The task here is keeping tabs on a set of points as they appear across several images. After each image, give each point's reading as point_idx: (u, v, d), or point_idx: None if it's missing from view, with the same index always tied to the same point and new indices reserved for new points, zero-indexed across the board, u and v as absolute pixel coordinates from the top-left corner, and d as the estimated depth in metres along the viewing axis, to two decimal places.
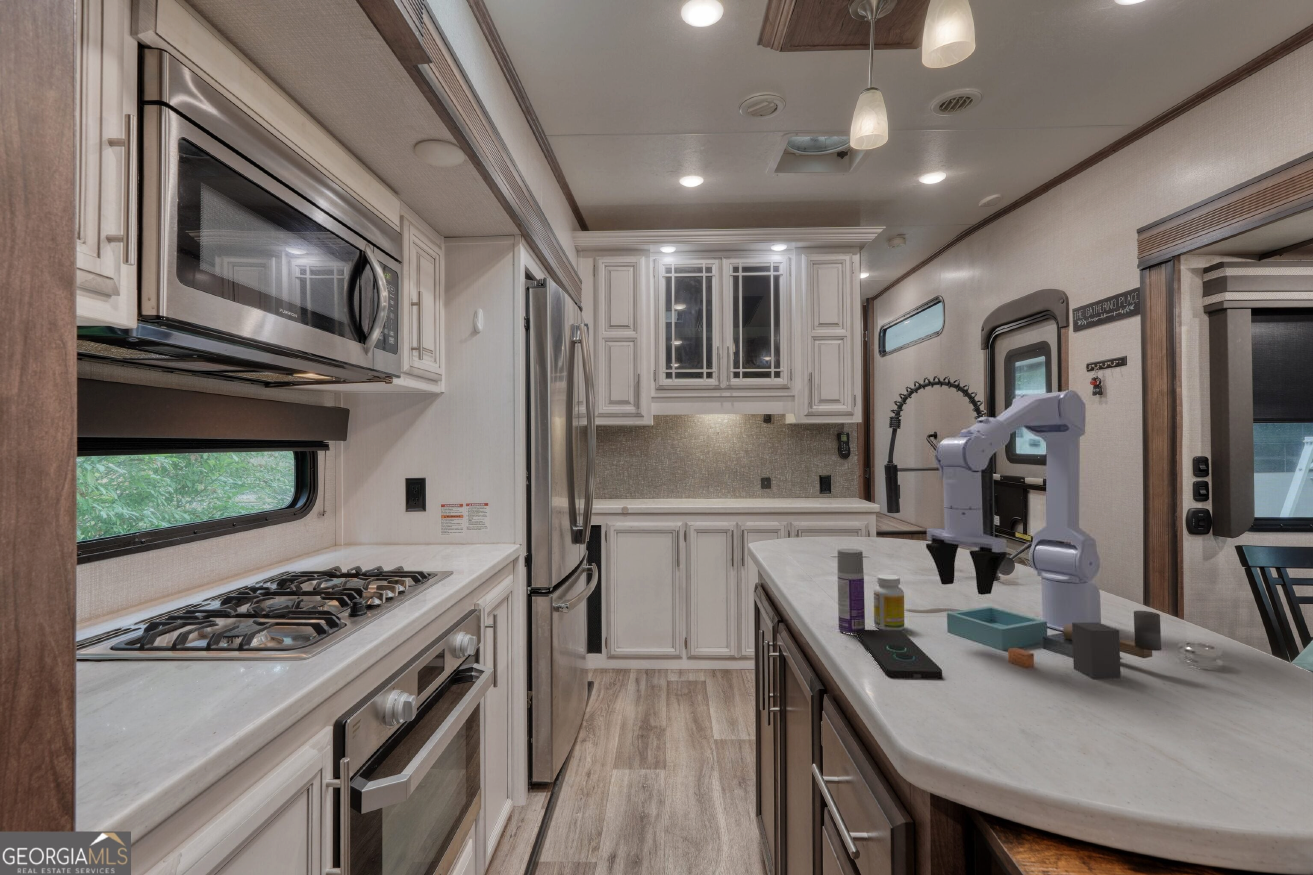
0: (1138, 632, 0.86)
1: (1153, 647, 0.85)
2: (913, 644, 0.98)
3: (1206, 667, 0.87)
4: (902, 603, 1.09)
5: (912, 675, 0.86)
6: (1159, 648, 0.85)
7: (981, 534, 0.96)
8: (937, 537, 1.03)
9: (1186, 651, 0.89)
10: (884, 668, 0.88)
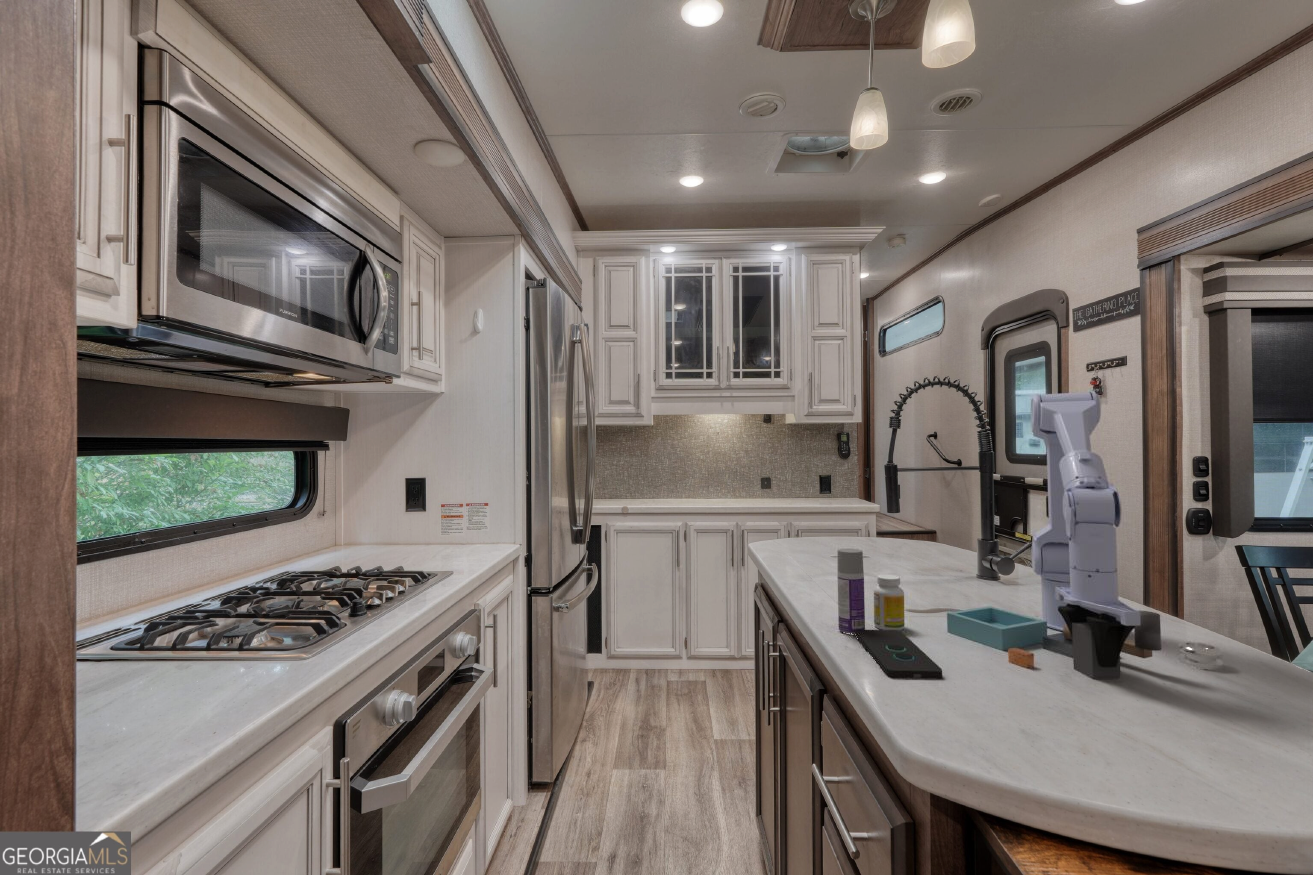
0: (1138, 632, 0.86)
1: (1153, 647, 0.85)
2: (912, 643, 0.98)
3: (1206, 667, 0.87)
4: (902, 603, 1.09)
5: (912, 675, 0.86)
6: (1159, 648, 0.85)
7: (1114, 601, 0.84)
8: None
9: (1186, 651, 0.89)
10: (884, 668, 0.88)
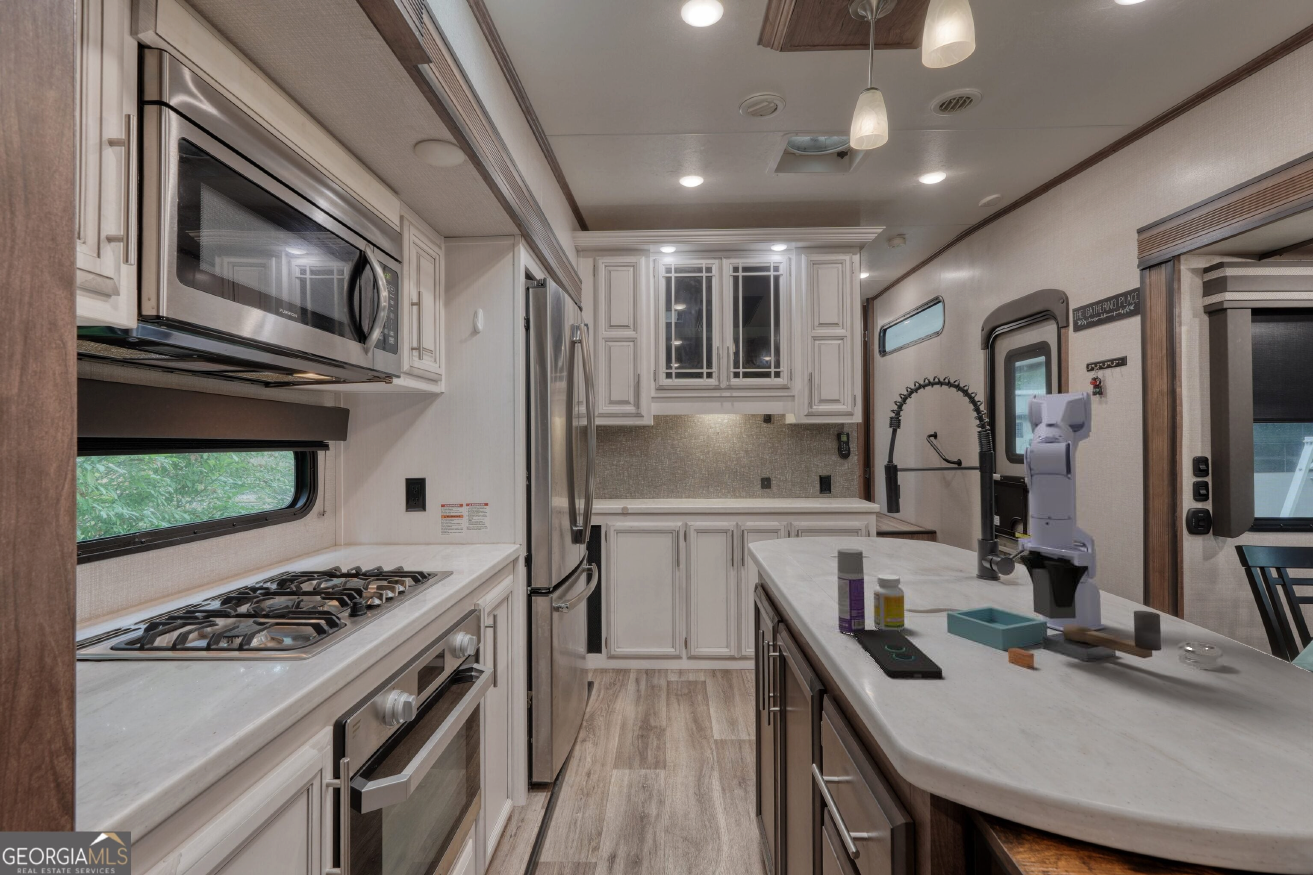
0: (1138, 632, 0.86)
1: (1153, 647, 0.85)
2: (911, 643, 0.98)
3: (1206, 667, 0.87)
4: (902, 603, 1.09)
5: (913, 675, 0.86)
6: (1159, 648, 0.85)
7: (1069, 546, 0.91)
8: None
9: (1186, 651, 0.89)
10: (884, 668, 0.88)
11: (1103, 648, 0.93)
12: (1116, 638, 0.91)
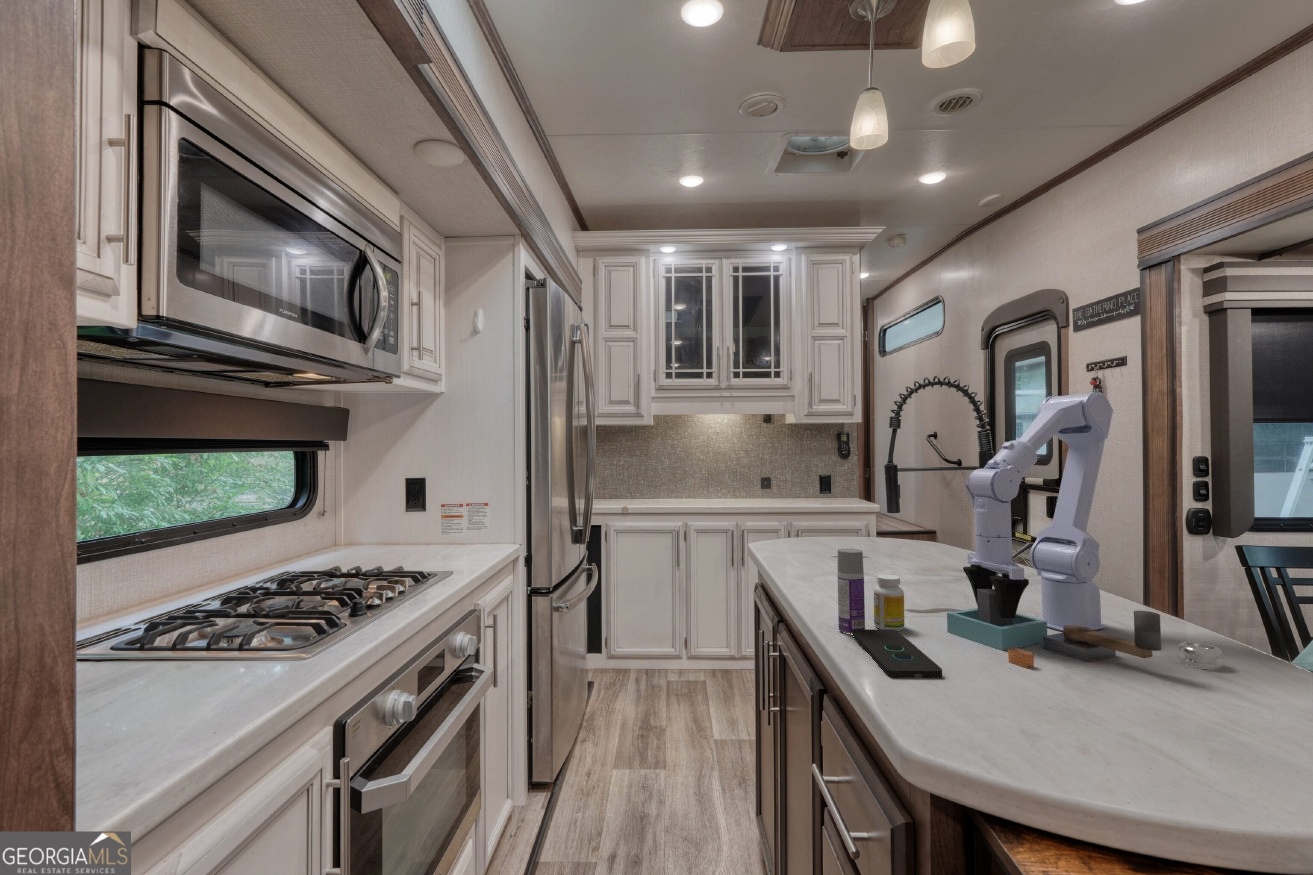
0: (1138, 632, 0.86)
1: (1153, 647, 0.85)
2: (910, 643, 0.98)
3: (1206, 667, 0.87)
4: (902, 603, 1.09)
5: (913, 675, 0.86)
6: (1159, 648, 0.85)
7: (1007, 561, 1.02)
8: None
9: (1186, 651, 0.89)
10: (885, 668, 0.88)
11: (1103, 648, 0.93)
12: (1116, 638, 0.91)
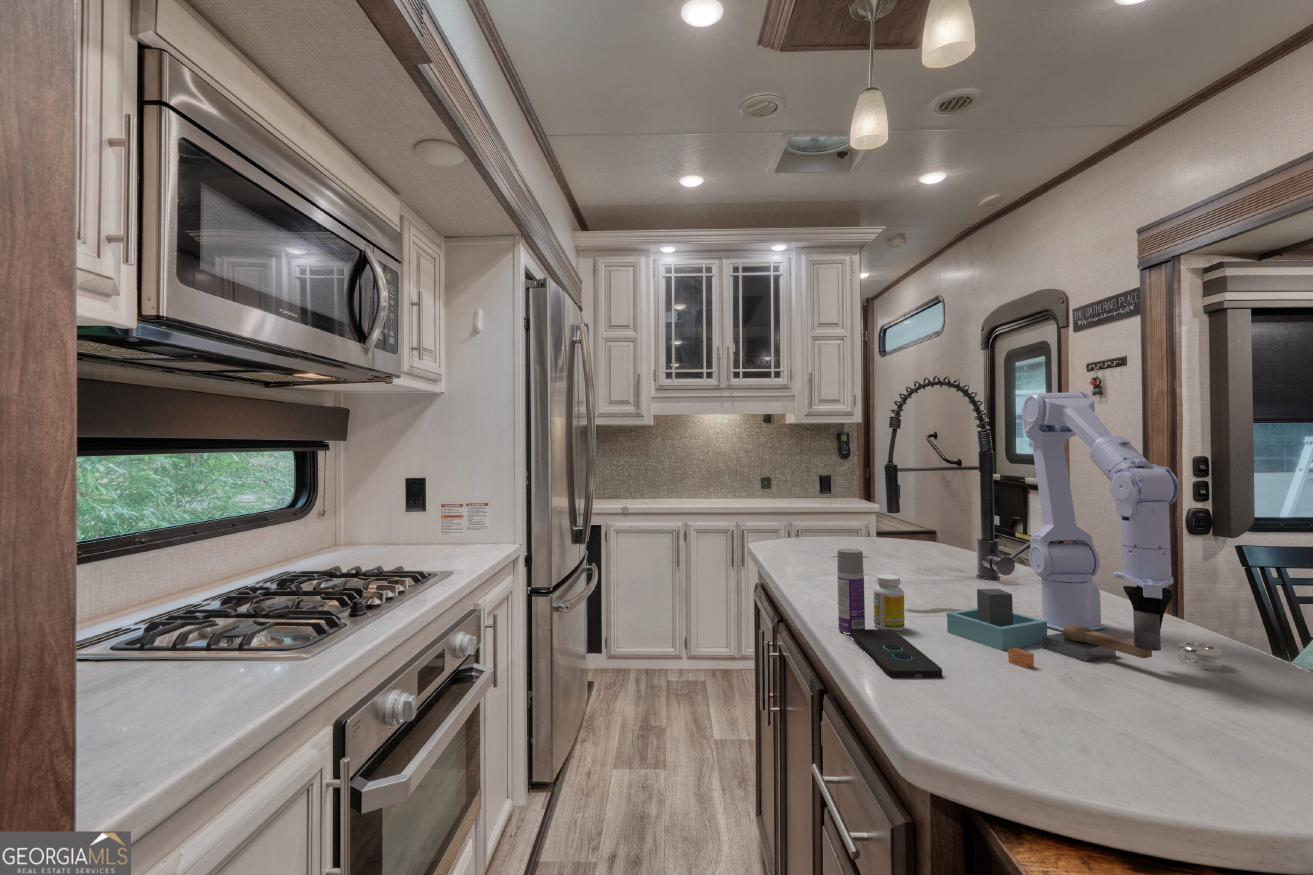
0: (1137, 632, 0.86)
1: (1152, 647, 0.85)
2: (908, 643, 0.98)
3: (1206, 667, 0.87)
4: (902, 603, 1.09)
5: (913, 675, 0.86)
6: (1159, 648, 0.85)
7: (1157, 577, 0.86)
8: None
9: (1186, 651, 0.89)
10: (885, 668, 0.88)
11: (1103, 648, 0.93)
12: (1116, 638, 0.91)
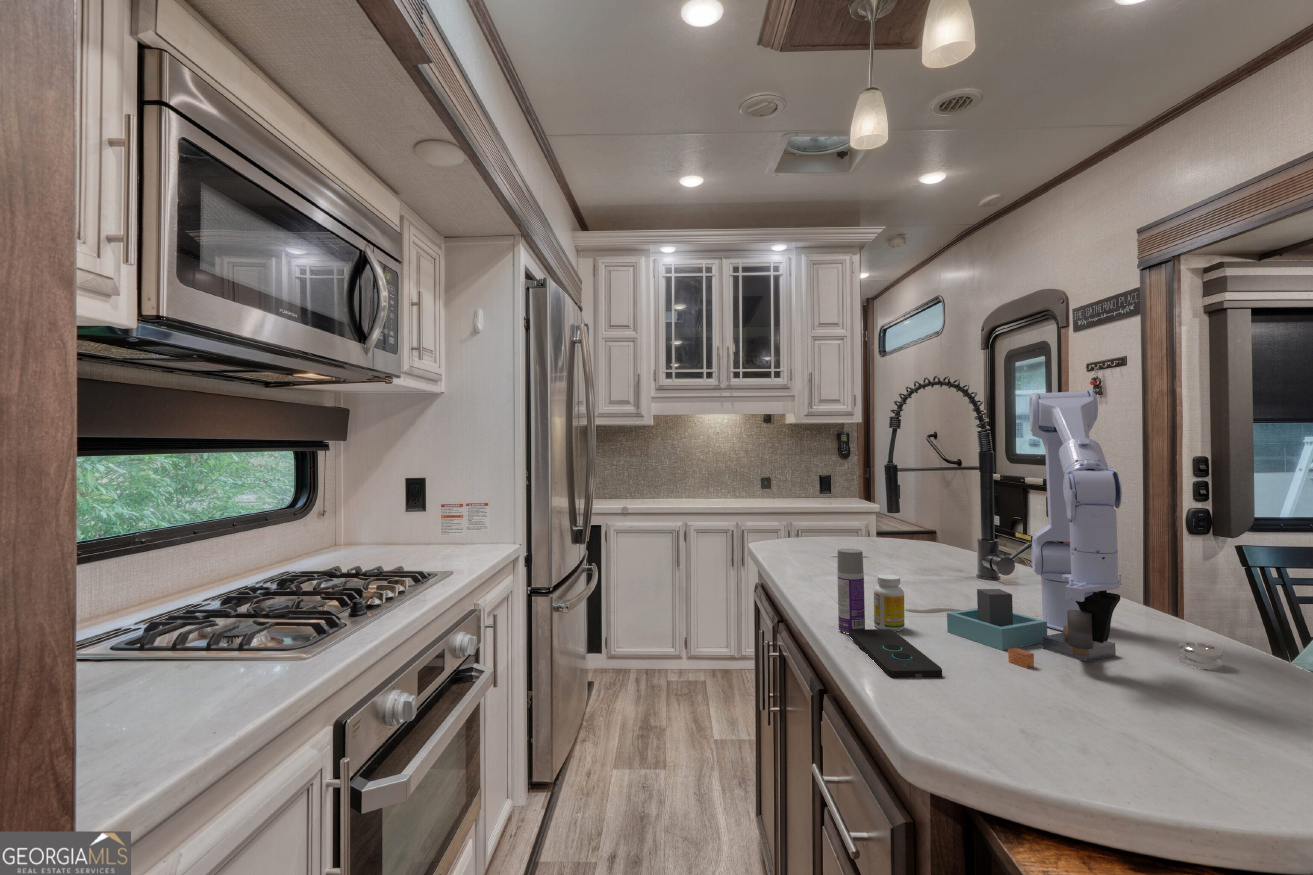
0: None
1: (1073, 644, 0.87)
2: (907, 642, 0.98)
3: (1206, 667, 0.87)
4: (902, 603, 1.09)
5: (913, 675, 0.86)
6: (1080, 646, 0.86)
7: (1094, 582, 0.85)
8: None
9: (1186, 651, 0.89)
10: (885, 669, 0.88)
11: (1103, 648, 0.93)
12: None
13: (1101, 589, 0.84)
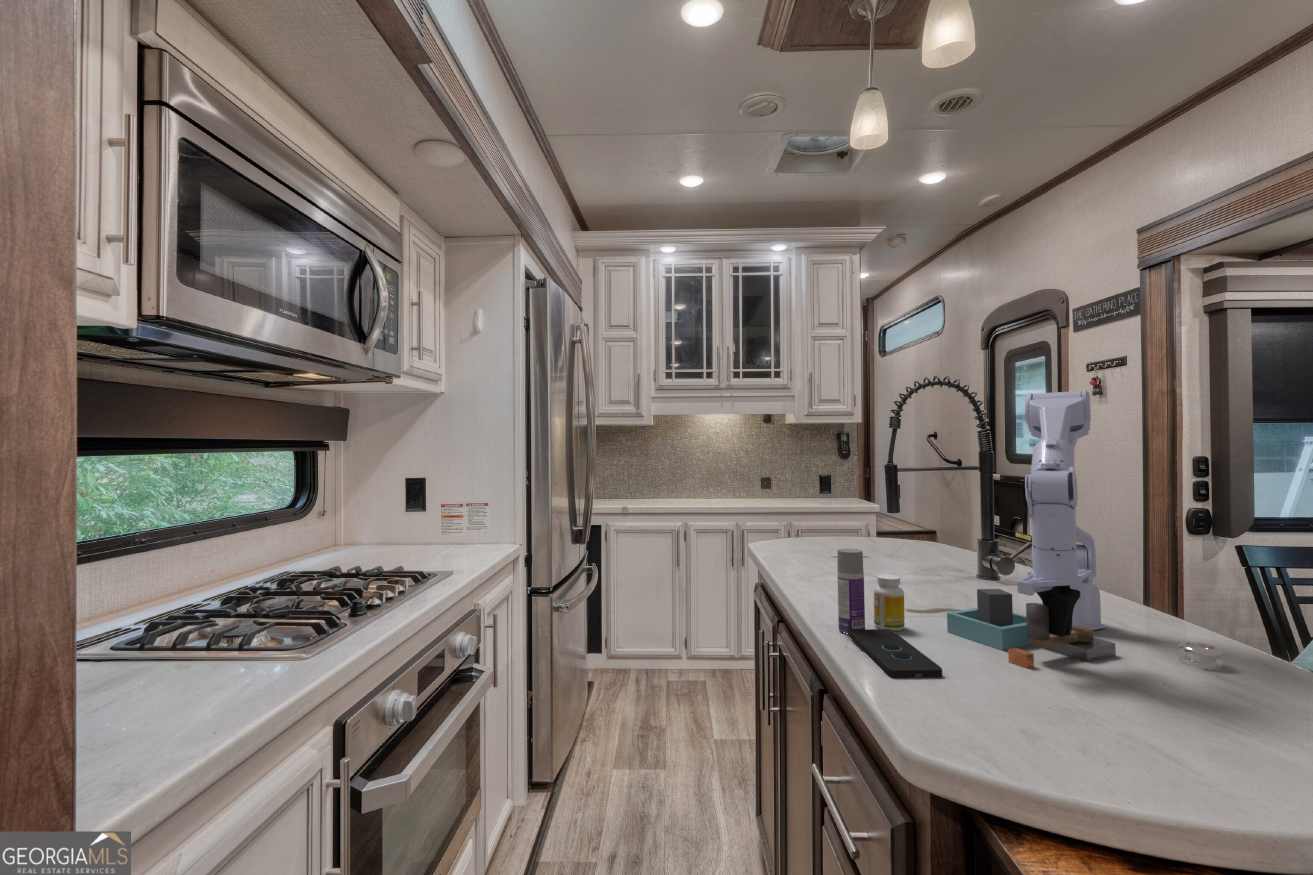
0: None
1: (1027, 633, 0.92)
2: (906, 642, 0.98)
3: (1206, 667, 0.87)
4: (902, 603, 1.09)
5: (914, 674, 0.86)
6: (1031, 636, 0.91)
7: (1050, 577, 0.89)
8: None
9: (1186, 651, 0.89)
10: (885, 668, 0.88)
11: (1103, 648, 0.93)
12: None
13: (1054, 584, 0.88)
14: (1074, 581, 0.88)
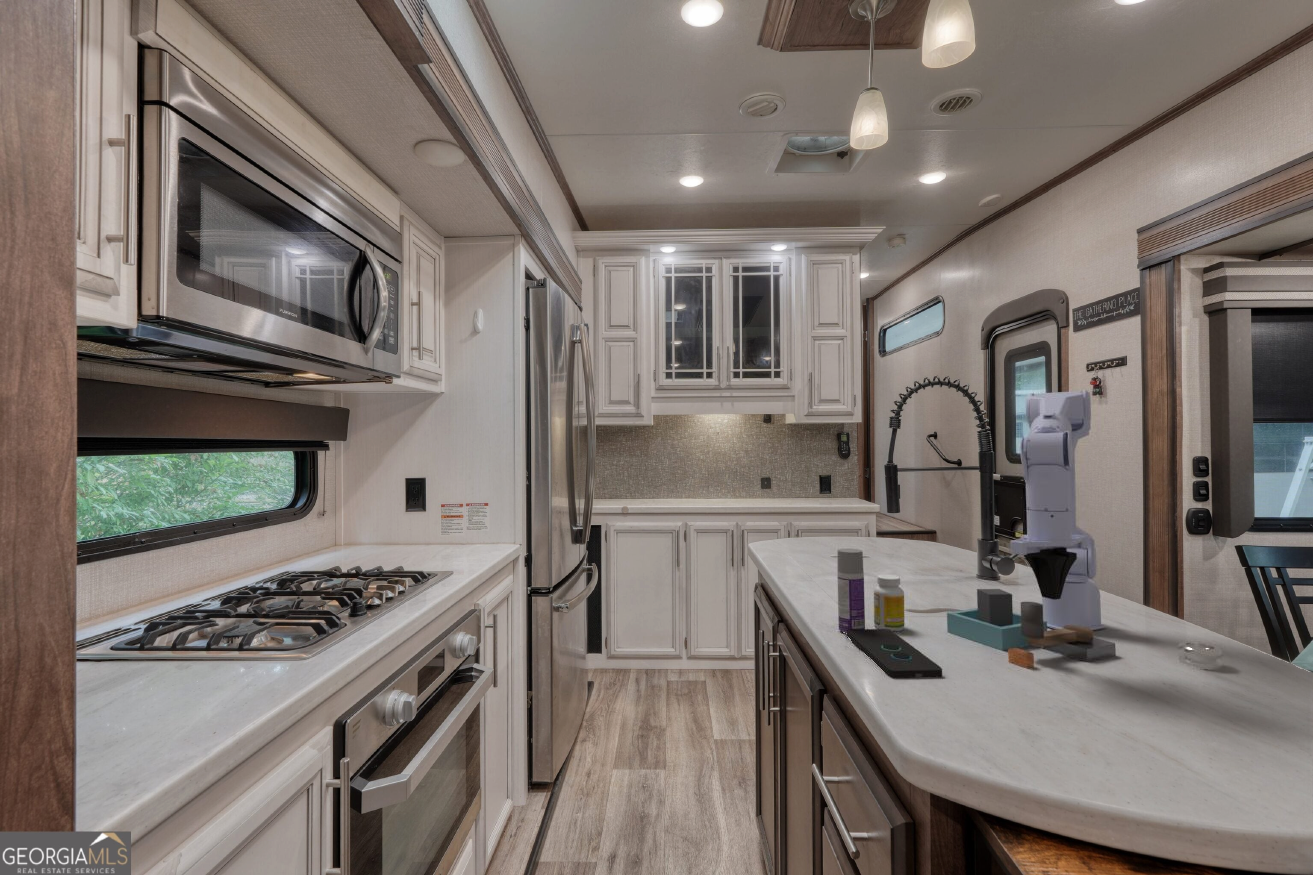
0: None
1: (1021, 631, 0.93)
2: (905, 642, 0.98)
3: (1206, 667, 0.87)
4: (902, 603, 1.09)
5: (914, 675, 0.86)
6: (1025, 634, 0.92)
7: (1043, 539, 0.89)
8: None
9: (1186, 651, 0.89)
10: (886, 669, 0.88)
11: (1103, 648, 0.93)
12: (1054, 632, 0.94)
13: (1047, 545, 0.87)
14: (1068, 542, 0.87)
